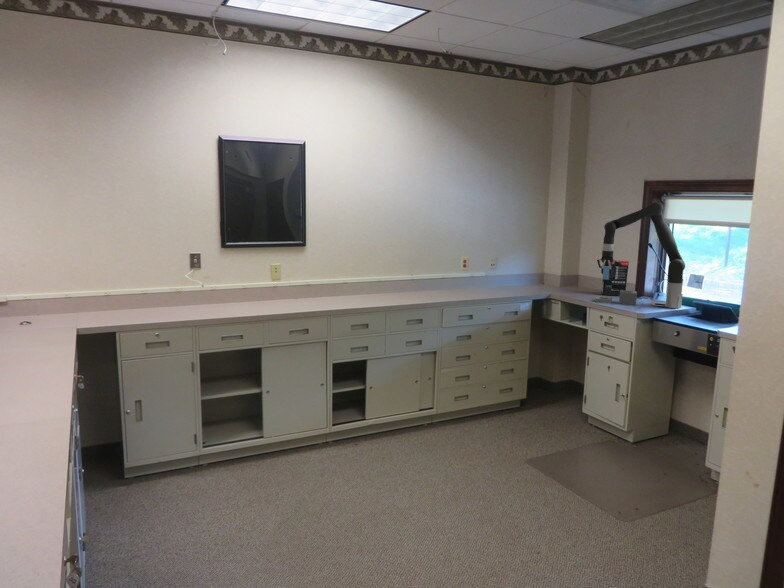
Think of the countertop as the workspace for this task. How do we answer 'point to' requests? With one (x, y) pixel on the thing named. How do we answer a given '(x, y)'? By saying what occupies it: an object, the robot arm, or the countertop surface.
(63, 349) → the countertop surface
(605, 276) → the plug
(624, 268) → the graphics card box
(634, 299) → the jack block
